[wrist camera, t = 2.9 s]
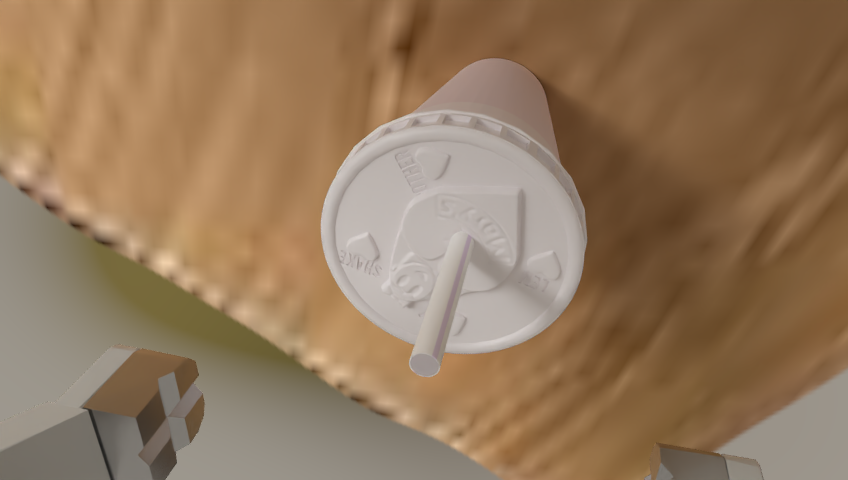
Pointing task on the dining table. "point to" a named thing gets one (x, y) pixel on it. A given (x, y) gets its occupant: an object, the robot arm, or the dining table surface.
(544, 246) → the smoothie
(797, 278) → the dining table surface
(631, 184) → the dining table surface
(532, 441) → the dining table surface
